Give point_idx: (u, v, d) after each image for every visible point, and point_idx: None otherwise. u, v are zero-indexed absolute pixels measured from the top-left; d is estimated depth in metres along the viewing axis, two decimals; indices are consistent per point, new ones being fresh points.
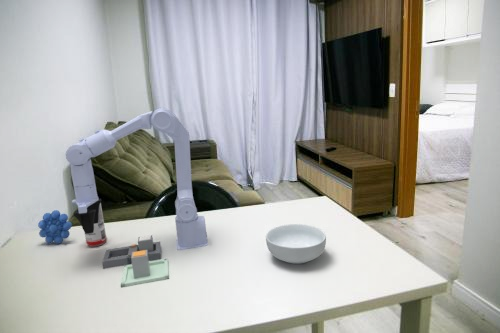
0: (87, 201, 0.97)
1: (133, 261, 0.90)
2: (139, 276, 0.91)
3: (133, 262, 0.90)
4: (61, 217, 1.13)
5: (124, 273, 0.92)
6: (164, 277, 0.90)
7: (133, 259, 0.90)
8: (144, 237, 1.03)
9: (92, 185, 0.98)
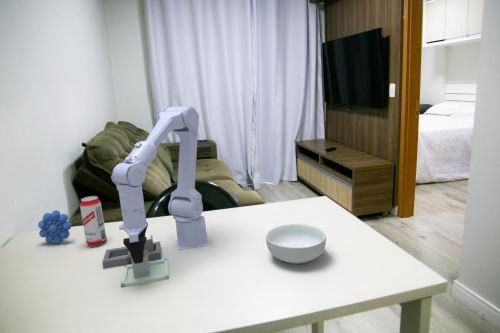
0: (137, 227, 0.87)
1: None
2: (139, 276, 0.91)
3: (133, 262, 0.90)
4: (61, 217, 1.13)
5: (124, 273, 0.92)
6: (164, 277, 0.90)
7: None
8: None
9: (142, 209, 0.88)
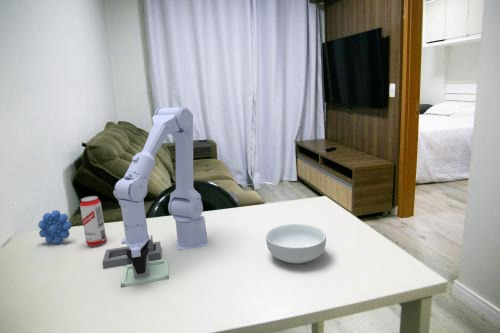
0: (139, 242, 0.88)
1: None
2: (139, 276, 0.91)
3: None
4: (61, 217, 1.13)
5: (124, 273, 0.92)
6: (164, 277, 0.90)
7: None
8: None
9: (144, 224, 0.89)
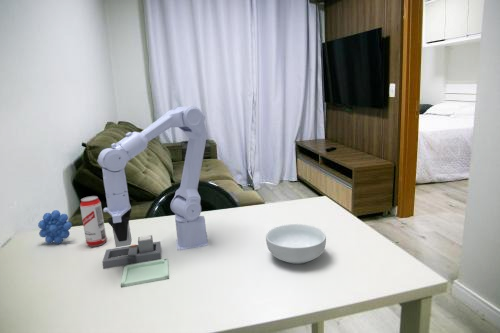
0: (120, 210, 0.92)
1: None
2: (120, 245, 0.95)
3: (114, 231, 0.94)
4: (61, 217, 1.13)
5: (124, 273, 0.92)
6: (164, 277, 0.90)
7: None
8: (144, 237, 1.03)
9: (125, 193, 0.93)
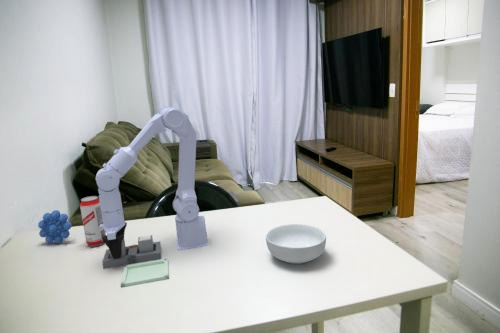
0: (115, 226, 0.97)
1: None
2: None
3: None
4: (61, 217, 1.13)
5: (124, 273, 0.92)
6: (164, 277, 0.90)
7: None
8: (144, 237, 1.03)
9: (120, 210, 0.98)
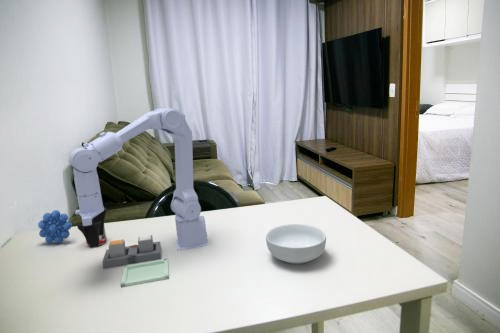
0: (92, 212, 0.89)
1: (110, 249, 0.99)
2: None
3: (110, 250, 0.99)
4: (61, 217, 1.13)
5: (124, 273, 0.92)
6: (164, 277, 0.90)
7: (110, 247, 0.99)
8: (144, 237, 1.03)
9: (97, 194, 0.89)
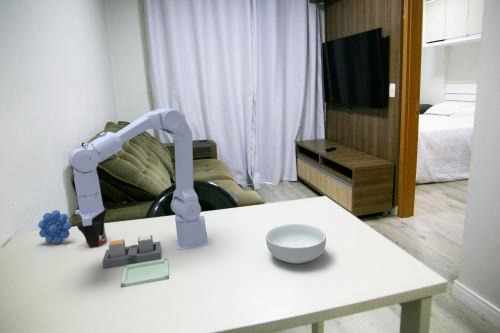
0: (92, 212, 0.89)
1: (110, 249, 0.99)
2: None
3: (110, 250, 0.99)
4: (61, 217, 1.13)
5: (124, 273, 0.92)
6: (164, 277, 0.90)
7: (110, 247, 0.99)
8: (144, 237, 1.03)
9: (97, 194, 0.89)
